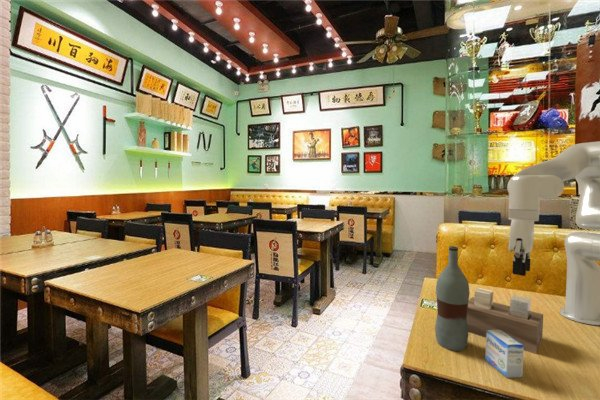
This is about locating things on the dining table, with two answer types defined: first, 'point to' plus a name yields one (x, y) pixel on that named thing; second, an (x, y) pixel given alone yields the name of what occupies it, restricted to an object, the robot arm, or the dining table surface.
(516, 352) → the medicine box
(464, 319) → the bottle
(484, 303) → the ash peg
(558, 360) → the dining table surface
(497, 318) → the block
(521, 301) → the pale grey block
